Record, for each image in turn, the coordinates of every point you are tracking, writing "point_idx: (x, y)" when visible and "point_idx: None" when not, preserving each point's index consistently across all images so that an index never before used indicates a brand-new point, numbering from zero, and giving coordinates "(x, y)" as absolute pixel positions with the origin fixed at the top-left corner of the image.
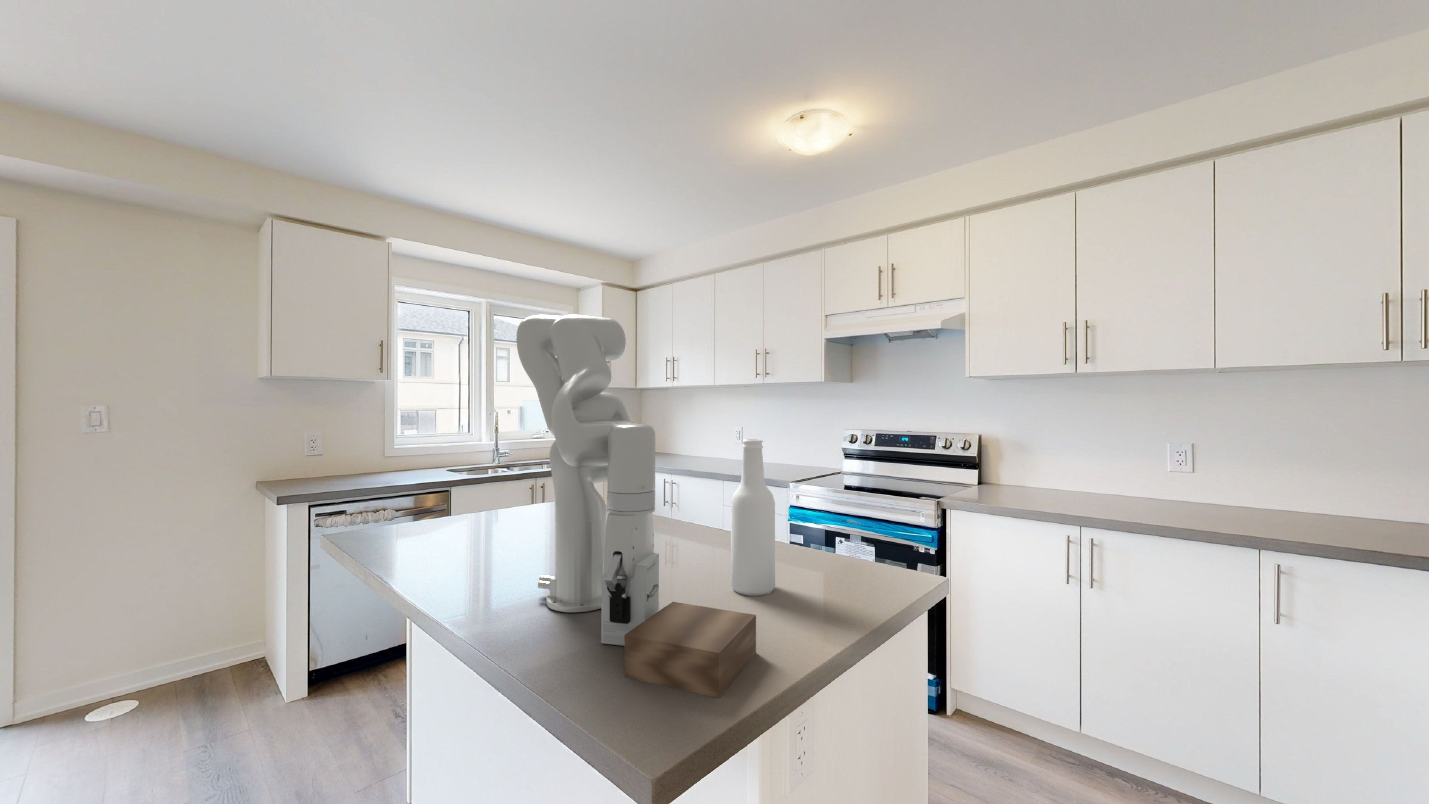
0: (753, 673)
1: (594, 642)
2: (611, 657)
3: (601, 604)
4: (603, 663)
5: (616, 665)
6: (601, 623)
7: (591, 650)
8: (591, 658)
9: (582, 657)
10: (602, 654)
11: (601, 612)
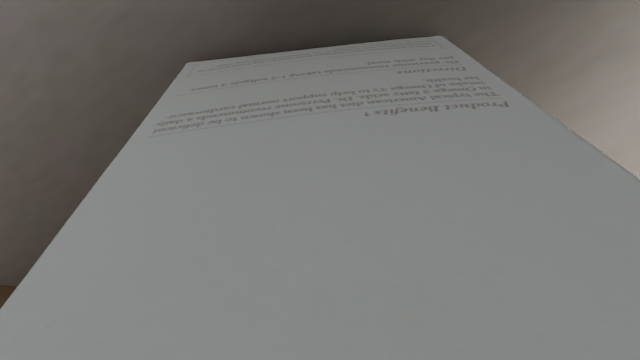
0: None
1: (201, 5)
2: (94, 175)
3: (102, 175)
4: (23, 170)
5: (44, 225)
6: (156, 105)
7: (104, 44)
8: (28, 93)
9: (7, 40)
10: (97, 122)
11: (129, 140)
